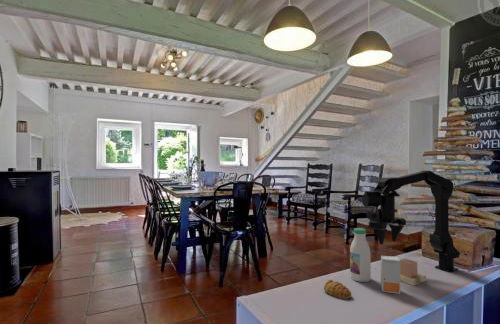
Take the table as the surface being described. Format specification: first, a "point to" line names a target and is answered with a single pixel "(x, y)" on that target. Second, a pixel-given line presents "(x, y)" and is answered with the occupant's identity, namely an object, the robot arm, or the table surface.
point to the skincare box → (390, 274)
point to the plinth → (412, 279)
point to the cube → (408, 267)
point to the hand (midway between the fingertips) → (387, 242)
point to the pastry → (337, 289)
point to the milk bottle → (360, 257)
